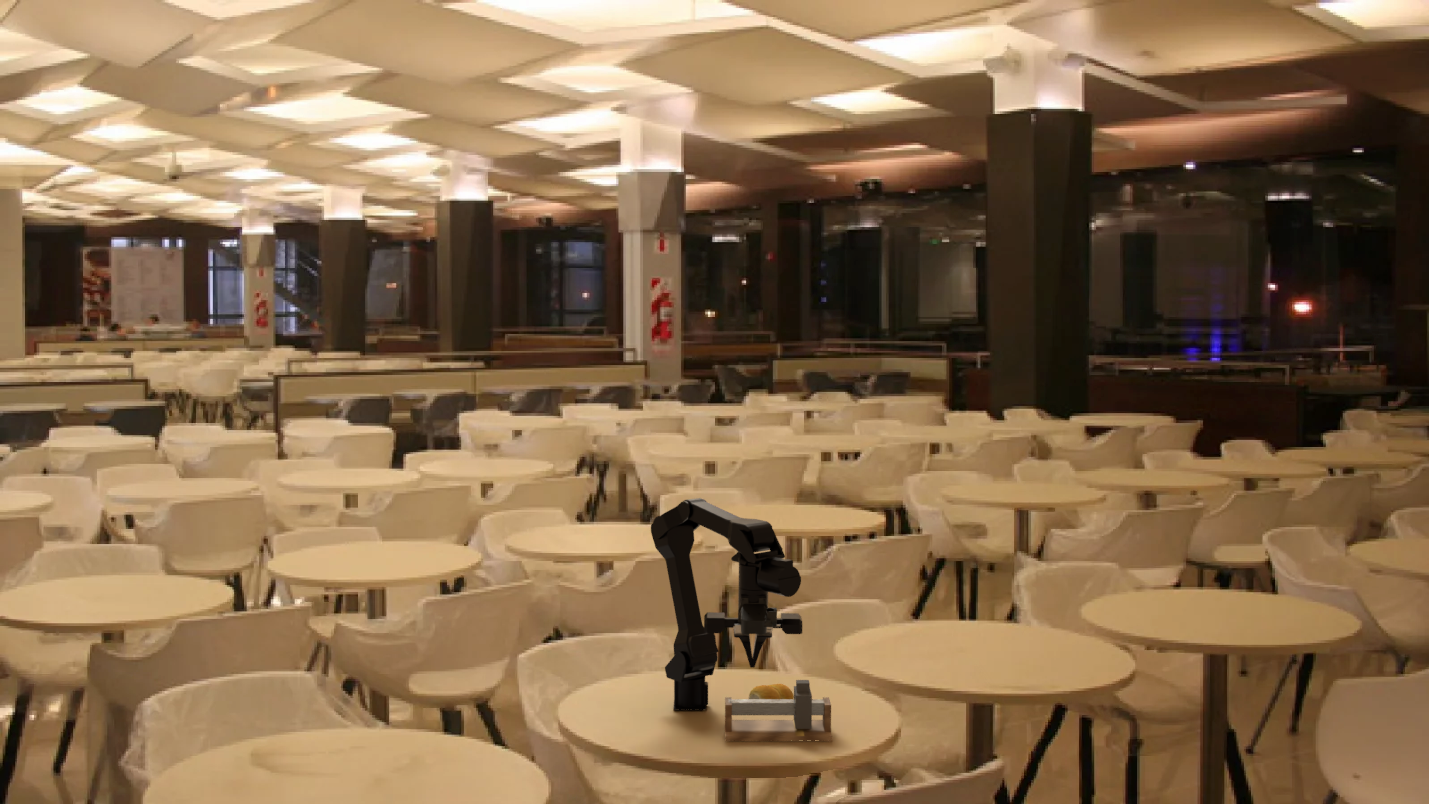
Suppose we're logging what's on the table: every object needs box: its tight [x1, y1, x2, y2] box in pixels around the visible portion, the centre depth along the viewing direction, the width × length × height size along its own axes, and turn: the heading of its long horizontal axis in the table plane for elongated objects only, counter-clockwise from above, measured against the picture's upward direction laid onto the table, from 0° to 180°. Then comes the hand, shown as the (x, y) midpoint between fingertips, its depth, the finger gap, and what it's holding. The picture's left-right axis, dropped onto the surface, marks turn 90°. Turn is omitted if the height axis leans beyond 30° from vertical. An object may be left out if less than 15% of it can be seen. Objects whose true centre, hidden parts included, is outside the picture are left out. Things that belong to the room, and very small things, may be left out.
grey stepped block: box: [793, 679, 813, 729], centre depth 277 cm, size 3×6×8 cm, turn 0°
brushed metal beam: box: [728, 698, 827, 716], centre depth 277 cm, size 19×3×3 cm, turn 90°
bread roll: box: [748, 683, 794, 699], centre depth 297 cm, size 8×9×4 cm
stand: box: [724, 696, 833, 742], centre depth 277 cm, size 20×10×6 cm, turn 90°
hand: (752, 667), depth 279 cm, fingers closed
